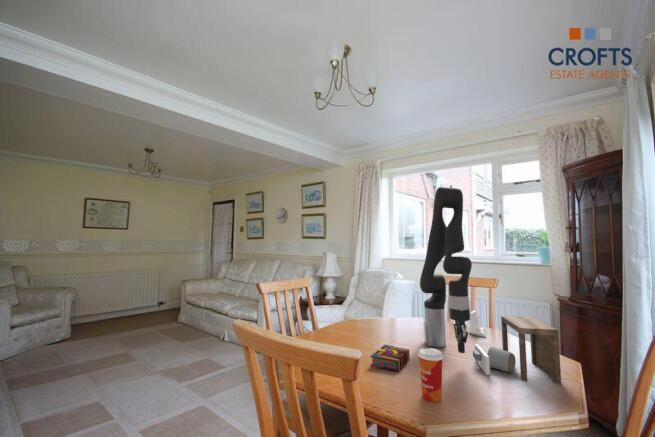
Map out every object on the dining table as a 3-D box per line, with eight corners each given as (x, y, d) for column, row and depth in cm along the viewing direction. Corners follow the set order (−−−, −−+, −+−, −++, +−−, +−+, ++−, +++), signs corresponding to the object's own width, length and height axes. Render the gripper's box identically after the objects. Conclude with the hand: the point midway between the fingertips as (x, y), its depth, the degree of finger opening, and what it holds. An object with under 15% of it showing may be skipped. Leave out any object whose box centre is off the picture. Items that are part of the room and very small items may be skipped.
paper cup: (415, 392, 98) (414, 347, 99) (438, 391, 99) (436, 346, 100) (425, 405, 90) (423, 356, 91) (449, 403, 91) (448, 355, 92)
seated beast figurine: (486, 337, 153) (485, 313, 154) (467, 335, 157) (466, 312, 158) (485, 332, 162) (484, 309, 163) (467, 330, 166) (467, 308, 167)
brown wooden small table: (522, 380, 106) (520, 328, 107) (503, 360, 123) (501, 315, 125) (561, 383, 103) (558, 329, 105) (535, 363, 121) (533, 317, 123)
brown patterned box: (410, 360, 125) (410, 347, 126) (397, 374, 112) (397, 360, 112) (384, 355, 131) (384, 343, 132) (369, 368, 118) (369, 354, 118)
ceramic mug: (510, 376, 109) (509, 354, 110) (486, 369, 115) (486, 348, 116) (519, 368, 117) (518, 347, 117) (496, 362, 123) (495, 342, 123)
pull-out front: (480, 374, 110) (479, 356, 111) (470, 359, 124) (469, 343, 124) (489, 375, 110) (489, 356, 110) (478, 360, 123) (477, 344, 124)
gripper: (445, 303, 127) (447, 346, 125) (453, 310, 114) (455, 357, 112) (464, 304, 126) (466, 347, 124) (474, 310, 113) (476, 359, 111)
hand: (461, 352), depth 118 cm, fingers closed
